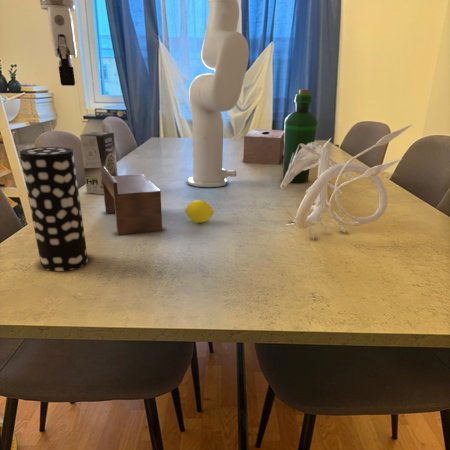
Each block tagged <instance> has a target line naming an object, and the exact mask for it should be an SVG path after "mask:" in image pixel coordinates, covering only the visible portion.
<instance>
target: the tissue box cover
mask: <svg viewBox="0 0 450 450" xmlns="http://www.w3.org/2000/svg"><path fill="white" fill-rule="evenodd" d="M242 157H243V159H242V160H243V161H242V163H251V164H267V165H279V164H280V163H281V160H282V157H284V129H265V128H252V129H251V130H250V131H248V132H247V133H246V134H245V135H244V136H243V156H242Z"/></svg>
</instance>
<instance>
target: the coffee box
mask: <svg viewBox="0 0 450 450" xmlns="http://www.w3.org/2000/svg"><path fill="white" fill-rule="evenodd" d="M79 136H80V146H81V154H82V155H81V156H82V163H83V171H84V179H85V189H86V193H87V194H97V195H104V192H103V182H102V173H101V166H104V167H105V168H106V169H107V171H108V172H109V173H110V175H111V176H119V174H118V173H119V172H118V163H117V154H116V142H115V132H113V131H92V132H88V133H83V134H80V135H79Z"/></svg>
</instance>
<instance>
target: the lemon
mask: <svg viewBox="0 0 450 450" xmlns="http://www.w3.org/2000/svg"><path fill="white" fill-rule="evenodd" d="M184 213H185V215H186V216H187V218H188V219H189V220H190V221H191V222H194V223H196V224H199V223H206V222H207V221H208V220H210V219H211V217H213V215H214V213H215V210H214V209H213V208H212V206H211V205H210V204H209V203H208V202H207V201H205V200H201V199H196V200H192V201H191V202H189V203H188V204H187V206H186V207H185V210H184Z"/></svg>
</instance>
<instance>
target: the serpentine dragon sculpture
mask: <svg viewBox="0 0 450 450" xmlns="http://www.w3.org/2000/svg"><path fill="white" fill-rule="evenodd" d="M411 126H413V123H412V124H409V125H407V126H405V127H403V128H401V129H398V130H395V131H393V132H390V133H388V134H386V135H384V136H382V137H381V138H380V139H378V140H377V142H376V143H375V144H373V145H372V146H370V147H368V148H366V149H365V150H363V151H361V152H360V153H357V154H356V155H354V156H353V157H351V158H350V159H349V160H347V162H341V163H338V162H336V161H335V160H334V159H332V158H330V157H335V155H333V154H330V152H329V150H328V148H327V147H328V145H329V143H330V142H331V139H332V137H330V138H329V139H328V140H327V141H326V142H325V143H324V144H319V143H318V142H316V141H315V142H311V143H309V144H307V145H304V144H302V143H301V144H299V145H300V146H301V147H302V149H300V150H299V152H298V153H297V151H298V148H299V146H298V148H297V150H296V153H295V155H294V158H293V160H292V158H291V161H292V163H291V161H290V164H289V168H288V171H287V172H286V174H285V177H284V179H283V178H282V180H281V181H282V182H281V184H280V186H279V188H280V189H282V190H284V189H285V188H287V186H288V185H289V184H291V183H290V182H291V181H292V180H293V178H294V177H295V176H296V175H297V174H299V173H300V172H301V171H303V170H304V171H305V170H307V169H310V170H311V169H312V168H316V166H317V178H316V180H314V182H313V184H312V185H311V186H309V187H308V188H306V190H305V192H304V193H305V194H304V197H303V199H302V200H301V202H300V204H299V206H298V209H297V211H296V214H295V215H294V214H293V213H292V212H290V211H288V210H287V209H286V208H284V211H285V212H286V213H287V214H288V215H289V216H290V217H292V218H293V220H292V223H288V224H287V223H286V226H293V225H296V227H297V228H298V229H300V230H301V229H302V230H307V229H308V230H309V232H310V235H311V237H312V240H313V241H314V240H315V236H314V233H313V229H312V227H313V226H314V225H316V224H317V223H318V222H320V225H321V226H322V227H323V228H324V230H325V231H326V232H327V233H329V228H328V227H327V226H326V225H327V224H326V223H325V221H324V220H323V219H322V216H323V215H324V213H325V212H327V213H328V215H329V217H330V218H331V219H333V220H334V221H335V222H336V225H338V226H339V228H340V231H342V232H343V233H346V229H345V227H352V228H353V227H361V226H365V225H368V224H371V223H373V222H376V221H377V220H379V219H380V218H381V217H382V216H383V215H384V213H385V212H386V210H387V207H388V194H387V189H386V187H385V185H384V183H383V181H382V179H381V178H380V177H379V174H381V173H383V172H384V171H385V170H387V169H389V168H390V167H392V166H394V165H395V164H397V163H399V162H400V161H402V160H403V158H400V159H395V160H392V161H388V162H384V163H382V164H379V165H374V166H371V167H367V166H366V165H363V164H360V163H356V162H353V161H354V160H355V159H357V158H359V157H361V156H362V155H364V154H366V153H367V152H369V151H371V150H372V149H374V148H376V147H380V146H385V145H387V144H389V143H390V142H391V141H392V140H394V139H396V138H397V137H398V136H400V135H401V134H402V133H404V132H405V131H406V130H408V129H409V128H410V127H411ZM312 143H313V144H312ZM296 154H297V155H296ZM292 157H293V154H292ZM309 164H310V165H309ZM330 164H331V165H330ZM351 173H355V174H358V175H359V176H356V177H354V176H353V175H352V174H351ZM343 174H344V175H346V176H347V177H348V178H349V180H347V181H345V182H342V183H341V184H339V183H340V180H341V178H342V175H343ZM336 176H337V177H336ZM335 177H336V180H335V183H334V184H332V183H331V182H330V181H331V180H332V179H334V178H335ZM362 178H366V179H368V180H369V181H370V182H371V183H372V184H373V186H374V187H375V189H376V191H377V194H378V198H379V204H378V205H379V206H378V208H377V210H376V211H375V212H374V213H373V214H372V215H371V214H370V215H369V216H361V217H357V216H354V215H352V214H350V213H348V212H347V211H346V210H345V209H344V208H343V206H342V204H341V202H340V199H339V193H340V194H342V195H343V194H344V192H343V191H342V190H341V188H343V187H344V186H346V185H348V184H351V183H354V182H356V181H358V180H360V179H362ZM329 187H330V189H332V190H333V192H332V193H331V196H330V199H329V193H328V191H329V190H328V189H329ZM333 200H335V203H336V207H337V208H338V210H339V211H340V213H341V214H342V215H344V216H345V217H346V218H348V219H350V220H351V221H354V222H346V221H344V220H343V219H342V217H341V216H340V215H339V214H337V212H335V211H334V210H333ZM327 205H328V207H327ZM310 212H311V214H310V215H309V213H310Z"/></svg>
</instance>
